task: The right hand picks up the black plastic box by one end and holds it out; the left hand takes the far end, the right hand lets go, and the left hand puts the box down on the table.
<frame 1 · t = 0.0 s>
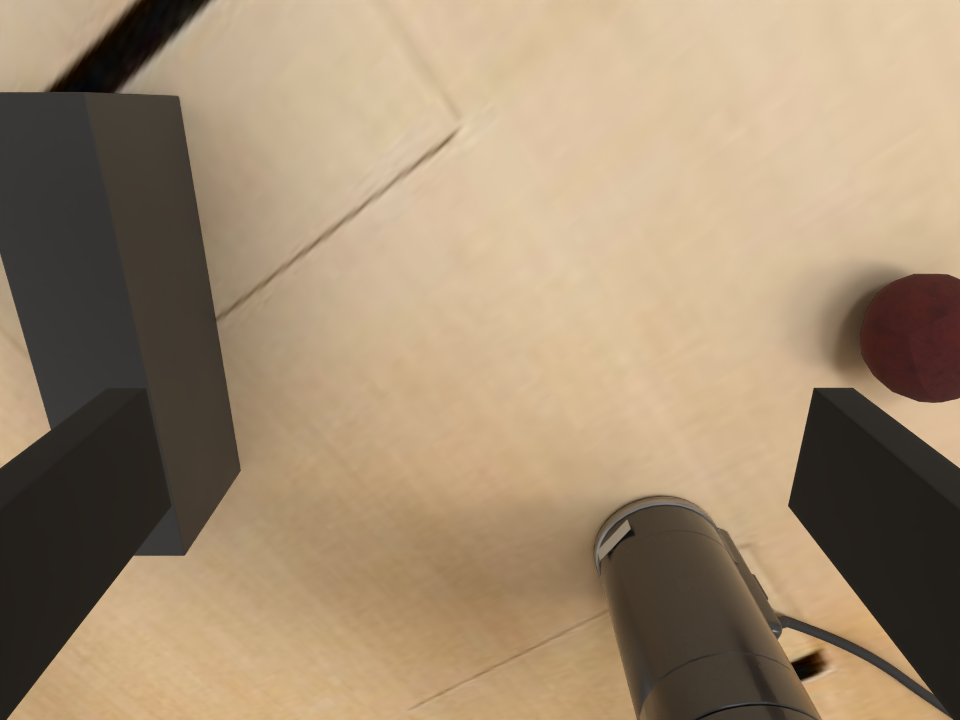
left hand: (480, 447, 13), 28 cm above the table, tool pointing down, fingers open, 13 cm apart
box: (169, 304, 41), on the table
dark red ball: (892, 316, 41), on the table
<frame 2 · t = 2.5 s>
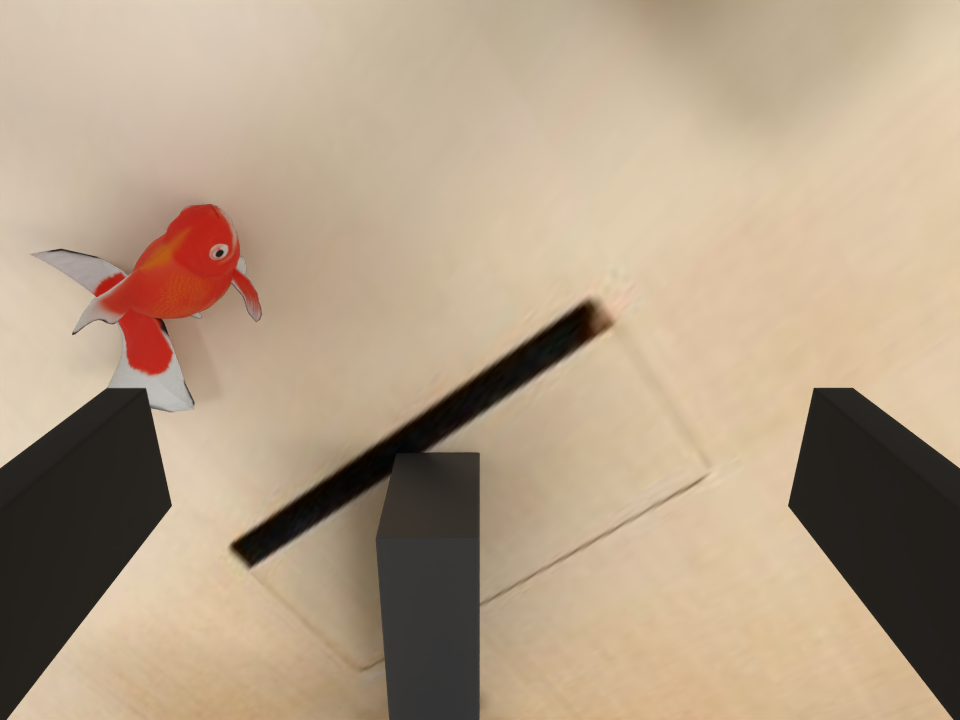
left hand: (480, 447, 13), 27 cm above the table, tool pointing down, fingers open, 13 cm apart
box: (441, 595, 48), on the table, touching right hand
fish: (189, 295, 39), on the table
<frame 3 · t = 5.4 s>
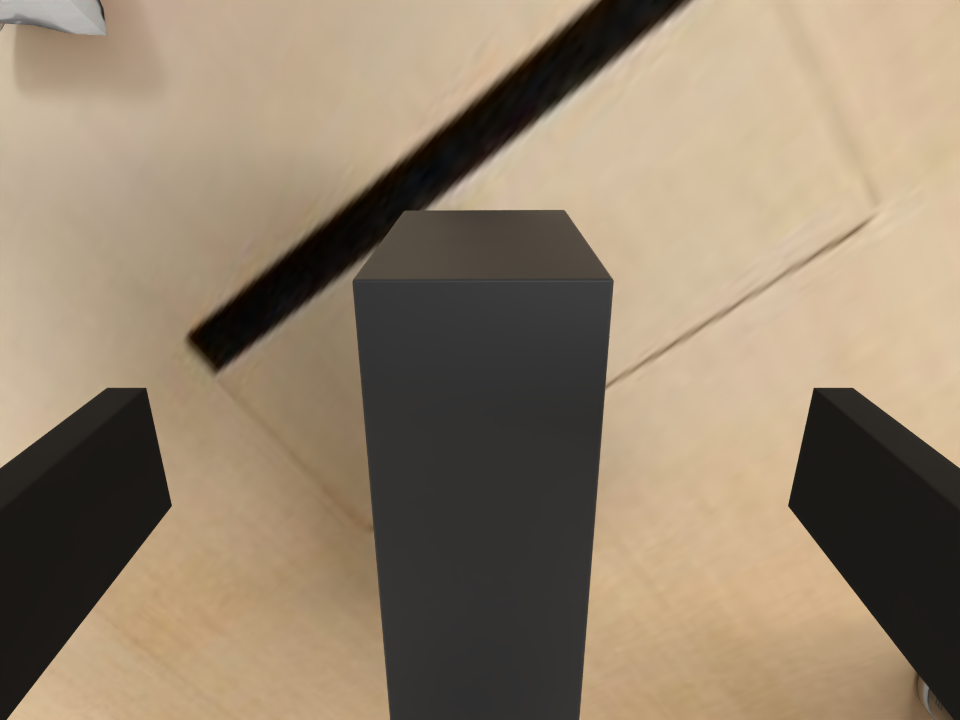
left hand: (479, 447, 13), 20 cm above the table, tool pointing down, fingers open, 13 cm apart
box: (485, 503, 27), point 8 cm above the table, touching right hand
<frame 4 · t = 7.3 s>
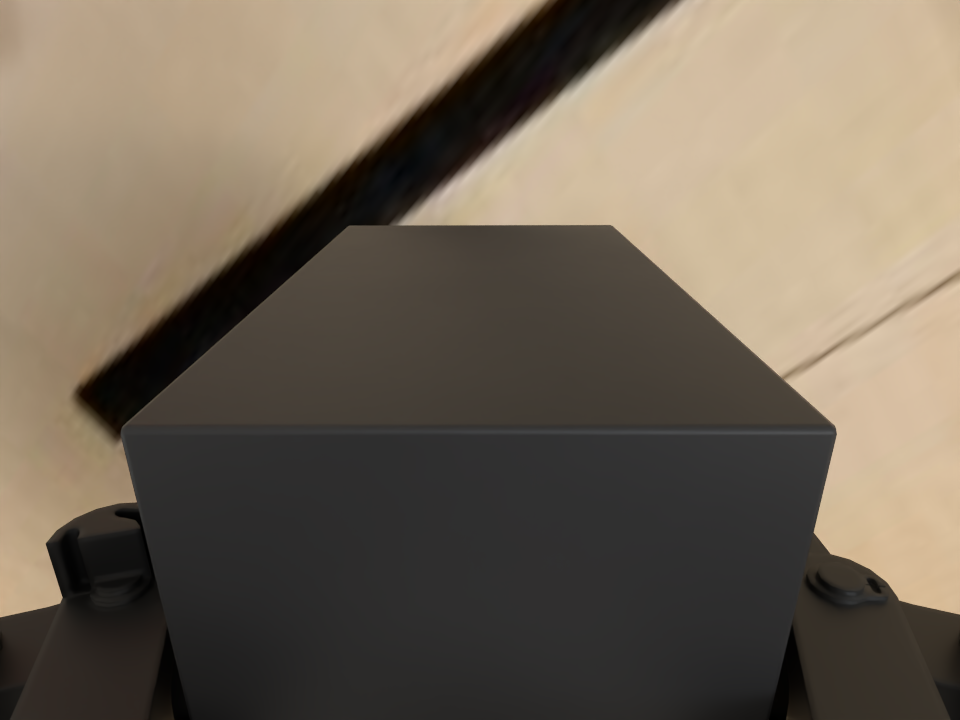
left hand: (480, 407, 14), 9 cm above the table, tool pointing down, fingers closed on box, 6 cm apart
box: (481, 658, 18), point 8 cm above the table, touching left hand, right hand
when the right hand's fingers open (13 cm above the table, at t = 8.4 s): box moves 2 cm, held by the left hand.
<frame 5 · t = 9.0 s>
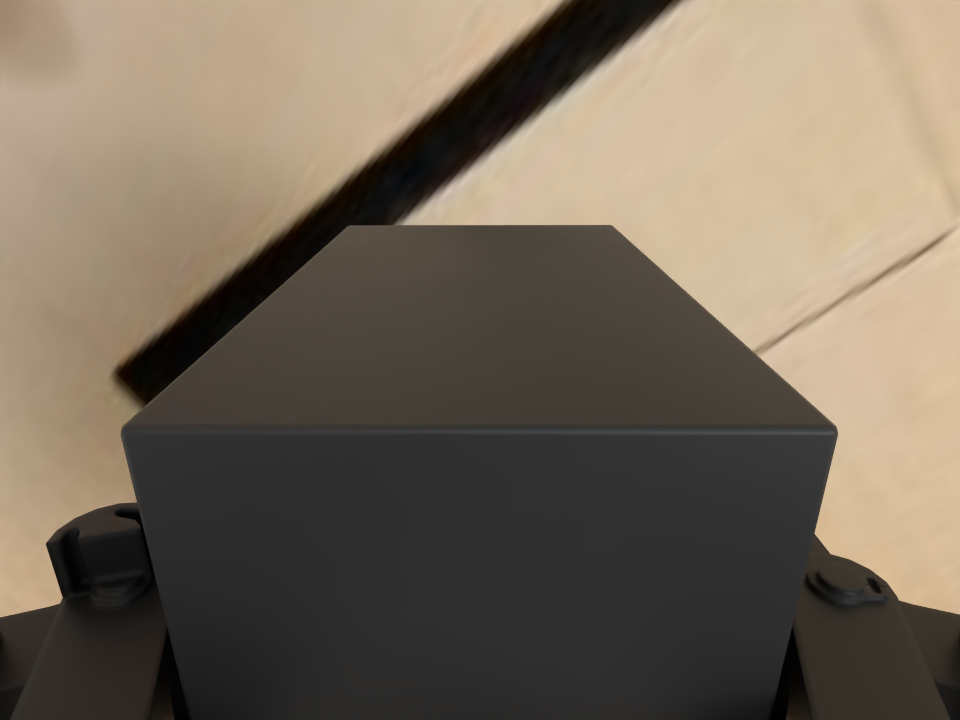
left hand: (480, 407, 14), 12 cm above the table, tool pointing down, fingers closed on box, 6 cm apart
box: (480, 658, 18), point 11 cm above the table, touching left hand
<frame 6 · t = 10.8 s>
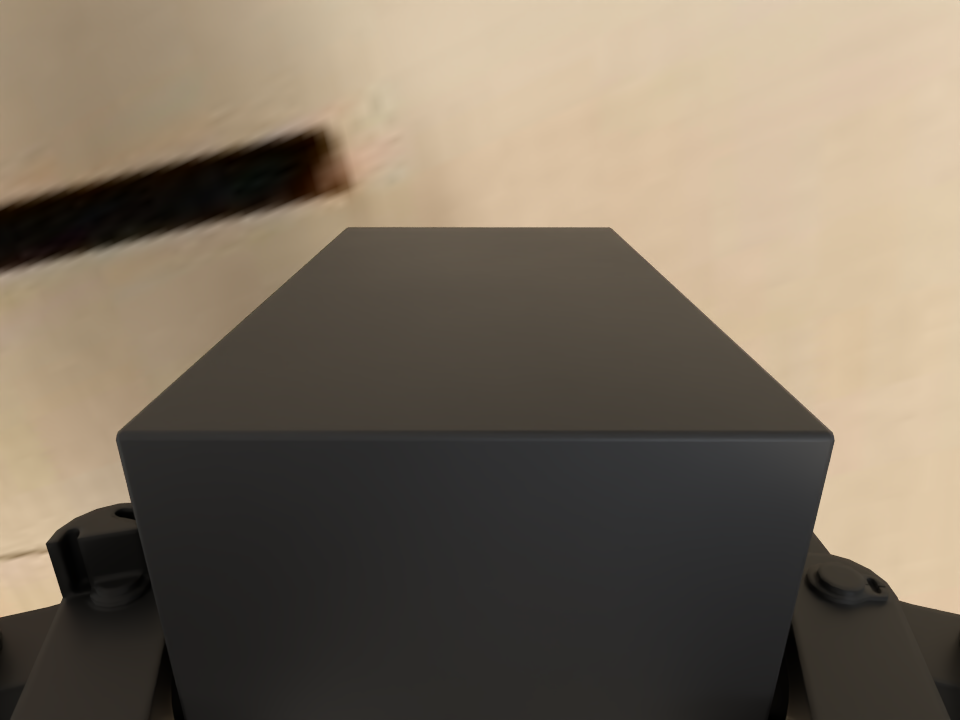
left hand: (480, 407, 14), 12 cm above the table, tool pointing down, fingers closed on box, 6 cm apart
box: (479, 660, 18), point 11 cm above the table, touching left hand
when the left hand's fingers open (2 cm above the table, at t = 14.2 s): box stays where it is, on the table.
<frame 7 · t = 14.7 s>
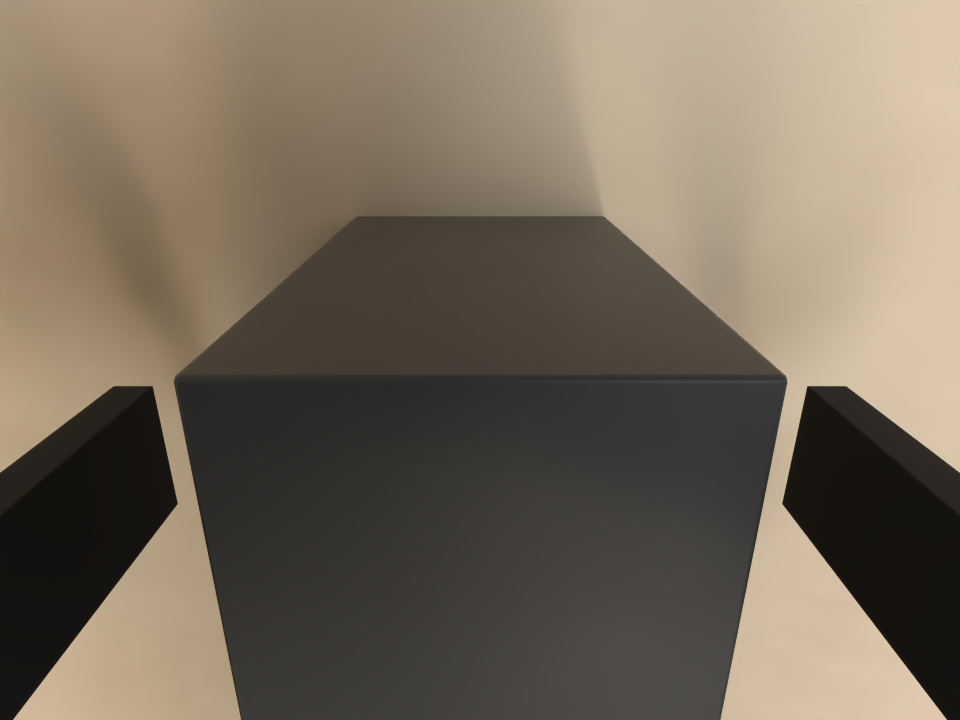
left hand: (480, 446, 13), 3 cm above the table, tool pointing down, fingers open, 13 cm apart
box: (480, 632, 19), on the table
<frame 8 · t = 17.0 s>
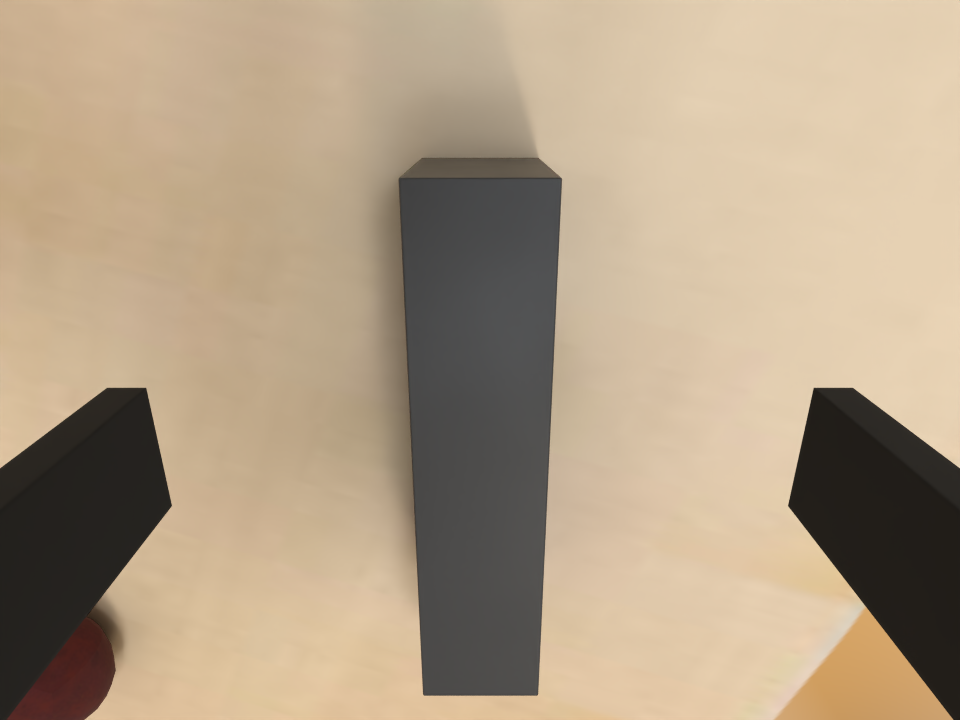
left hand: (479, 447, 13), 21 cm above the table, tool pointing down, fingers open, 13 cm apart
box: (480, 390, 35), on the table
dark red ball: (81, 629, 42), on the table
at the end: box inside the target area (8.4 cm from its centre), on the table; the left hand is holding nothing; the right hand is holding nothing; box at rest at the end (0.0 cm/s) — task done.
